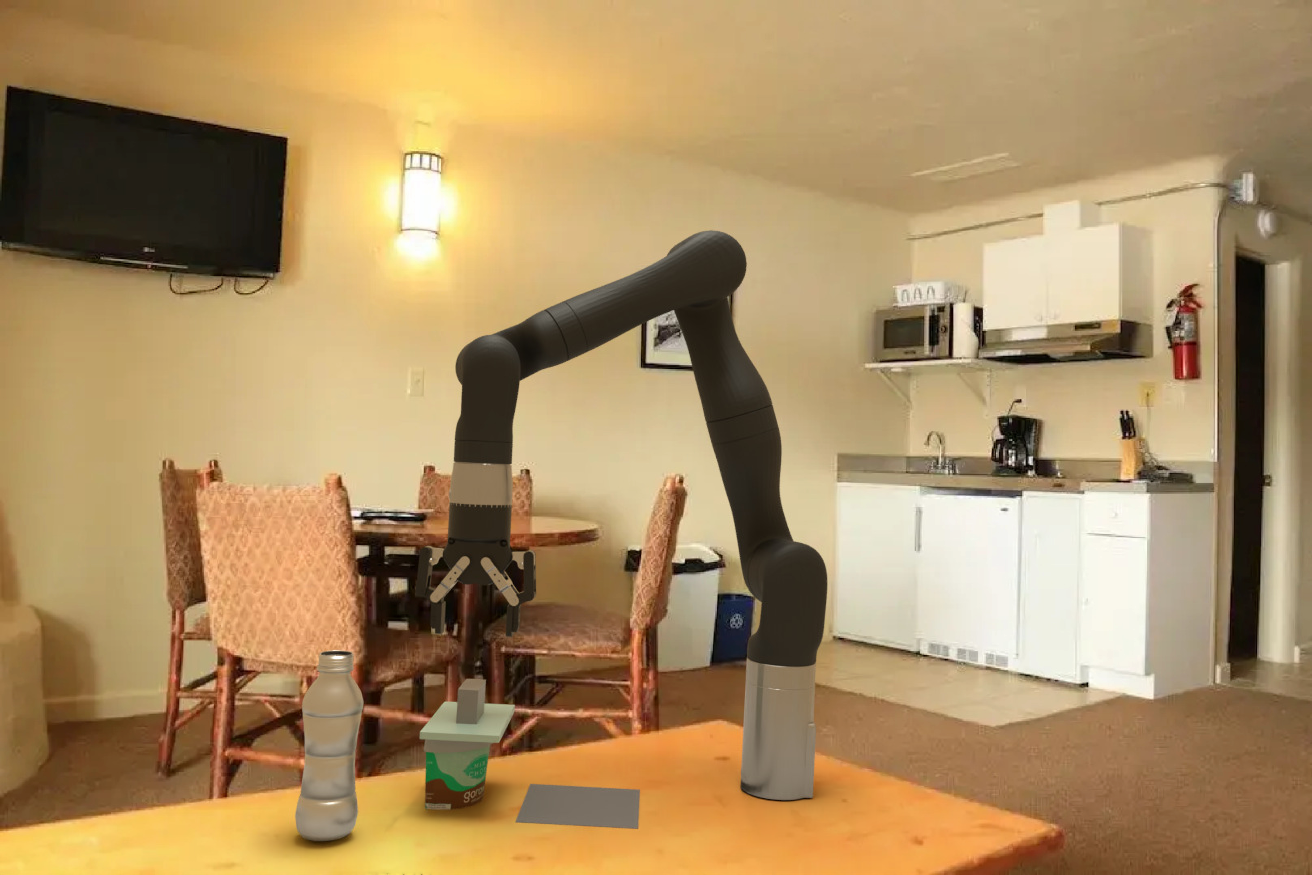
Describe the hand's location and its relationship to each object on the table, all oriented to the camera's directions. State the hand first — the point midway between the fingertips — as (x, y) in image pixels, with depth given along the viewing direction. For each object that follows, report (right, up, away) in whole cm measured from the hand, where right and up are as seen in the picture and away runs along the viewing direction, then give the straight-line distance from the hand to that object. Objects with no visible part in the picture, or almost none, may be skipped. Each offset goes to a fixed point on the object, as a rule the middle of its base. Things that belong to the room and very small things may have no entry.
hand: (474, 634), depth 124 cm
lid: (-1, -11, 0) cm, 11 cm away
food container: (-1, -21, -1) cm, 21 cm away
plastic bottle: (-14, -20, -13) cm, 27 cm away
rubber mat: (+13, -22, -1) cm, 25 cm away
